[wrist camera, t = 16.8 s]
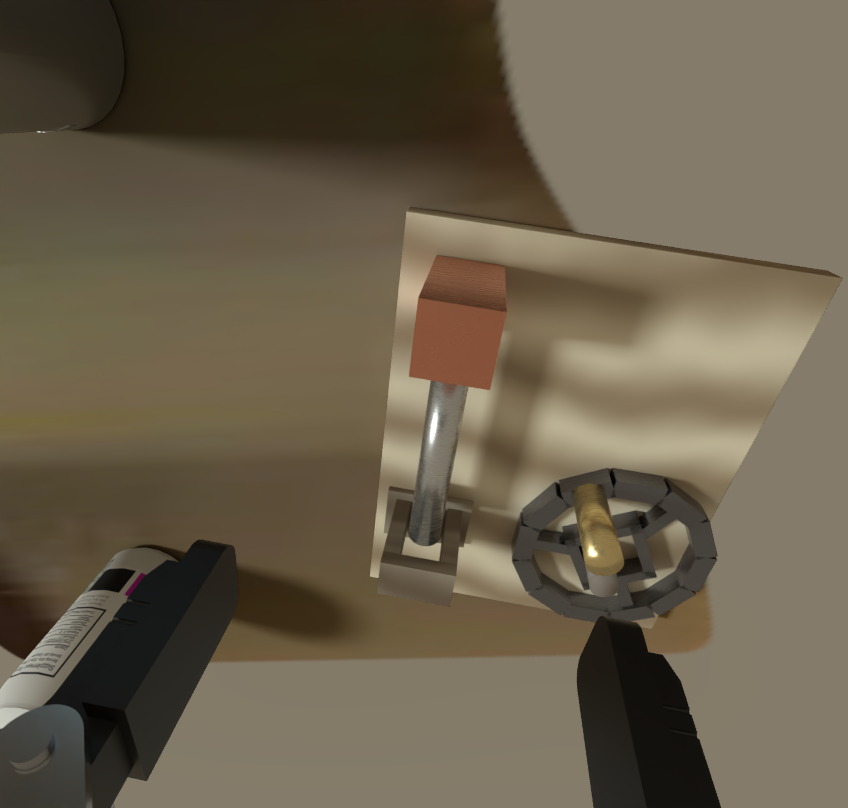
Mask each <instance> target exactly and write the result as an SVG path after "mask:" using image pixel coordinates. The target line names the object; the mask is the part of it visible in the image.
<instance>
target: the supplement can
mask: <svg viewBox="0 0 848 808" xmlns="http://www.w3.org/2000/svg"><path fill="white" fill-rule="evenodd" d="M166 560H172V561H177V560H176V559H175V558H173V557H172V556H170V555H168V554H166V553H164V552H162V551H159V550H156V549H151V548H134V549H126V550H123V551H121V552H119V553H117V554H116V555H115V556H114V557H113V558H112V559H111V561H110V562H109V563H108V564H107V565H106V566H105V567H104V569H103V570H102V571H101V572H100V573H99V574H98V576H97V577H96V578H95V579H94V580H93V581H92V583H91V584H90V585H89V586H88V587H87V588H86V590H85V591H84V592H83V593H82V594H81V595H80V597H79V598H78V599H77V600H76V601H75V602H74V604H73V605H72V606H71V607H70V608H69V609H68V611H67V612H66V613H65V614H64V615H63V616H62V617H61V619H60V620H59V621H58V622H57V623H56V624H55V626H54V627H53V628H52V629H51V630H50V631H49V633H48V634H47V635H46V636H45V637H44V638H43V640H42V641H41V642H40V643H39V644H38V645H37V647H36V648H35V649H34V650H33V651H32V652H31V654H30V655H29V656H28V657H27V658H26V659H25V660H24V662H23V663H22V664H21V665H20V667H18V669H17V670H16V671H15V672H14V674H13V675H12V676H11V677H10V678H9V679H8V680H7V681H6V683H5V684H4V685H3V687H2V688H1V690H0V729H2V728H3V727H5V726H6V725H7V724H8V723H9V722H11V721H12V720H14V719H15V718H17V717H18V716H20V715H22V714H24V713H25V712H28V711H30V710H32V709H35V708H38V707H41V706H42V705H44V704H45V703H46V702H47V701H48V700H49V699H50V698H51V697H52V696H53V695H54V693H55V692H56V691H57V690H58V689H59V687H60V686H61V685H62V683H63V682H64V681H65V679H66V678H67V677H68V675H69V674H70V673H71V671H72V670H73V669H74V668H75V666H76V665H77V664H78V662H79V661H80V660H81V658H82V657H83V656H84V654H85V653H86V652H87V650H88V649H89V648H90V646H91V645H92V644H93V643H94V641H95V640H96V639H97V637H98V636H99V635H100V633H101V632H102V631H103V629H104V628H105V627H106V625H107V624H108V623H109V621H110V622H111V621H112V620H113V616H114V615H115V614H116V612H117V611H118V610H119V608H120V607H121V606H122V604H123V603H126V601H127V598H128V597H129V595H130V594H131V593H132V591H133V590H134V589H135V587H136V586H137V585H138V583H139V582H140V581H141V579H142V578H143V577H144V576H145V575H147V574H148V573H149V572H151V571H152V570H154V569H155V568H156V567H158V566H159V565H160V564H162V563H163V562H165V561H166ZM177 562H179V561H177Z"/></svg>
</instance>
